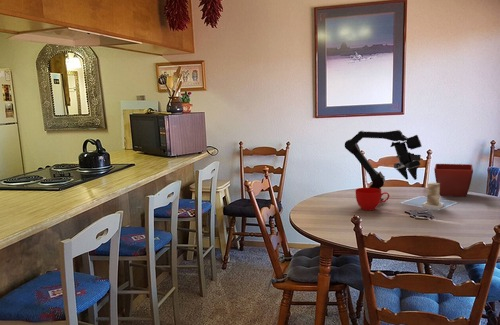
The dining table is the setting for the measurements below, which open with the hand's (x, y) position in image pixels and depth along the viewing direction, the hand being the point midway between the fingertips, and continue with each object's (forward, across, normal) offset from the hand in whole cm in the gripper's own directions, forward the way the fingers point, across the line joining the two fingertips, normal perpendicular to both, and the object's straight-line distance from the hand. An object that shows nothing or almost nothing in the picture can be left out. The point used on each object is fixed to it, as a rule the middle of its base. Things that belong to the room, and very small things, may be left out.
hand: (411, 179), depth 212 cm
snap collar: (+15, -12, -1) cm, 19 cm away
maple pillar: (+15, -12, -1) cm, 19 cm away
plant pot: (+19, +10, -25) cm, 33 cm away
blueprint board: (+15, -5, -2) cm, 16 cm away
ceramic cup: (+7, -5, +28) cm, 29 cm away
